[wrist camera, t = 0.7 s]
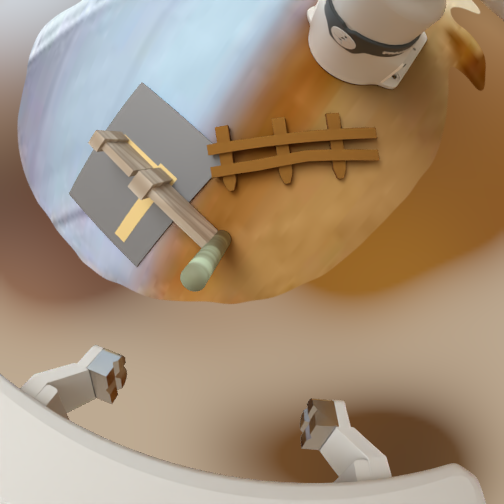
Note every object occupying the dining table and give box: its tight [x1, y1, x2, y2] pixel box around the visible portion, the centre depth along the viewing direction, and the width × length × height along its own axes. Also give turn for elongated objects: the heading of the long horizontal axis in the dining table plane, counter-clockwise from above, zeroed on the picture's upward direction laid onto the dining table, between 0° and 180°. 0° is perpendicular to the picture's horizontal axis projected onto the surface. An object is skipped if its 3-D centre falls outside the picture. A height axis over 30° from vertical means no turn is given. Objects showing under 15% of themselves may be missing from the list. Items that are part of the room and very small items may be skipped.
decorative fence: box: [207, 113, 379, 191], centre depth 38 cm, size 25×2×10 cm
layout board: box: [69, 83, 221, 267], centre depth 43 cm, size 26×21×1 cm
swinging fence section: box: [128, 168, 231, 291], centre depth 36 cm, size 3×17×15 cm, turn 46°
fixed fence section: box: [88, 130, 153, 177], centre depth 38 cm, size 2×9×8 cm, turn 46°
